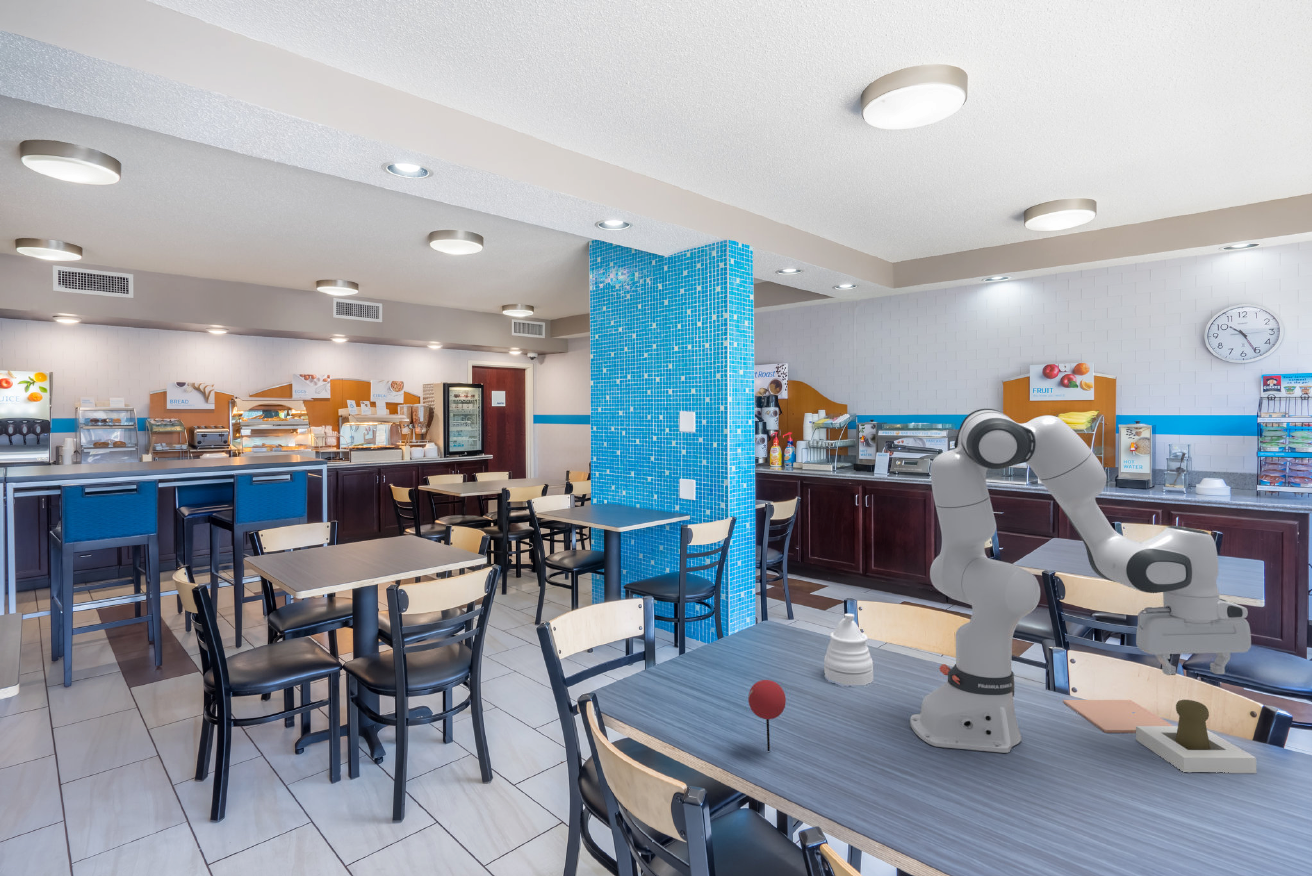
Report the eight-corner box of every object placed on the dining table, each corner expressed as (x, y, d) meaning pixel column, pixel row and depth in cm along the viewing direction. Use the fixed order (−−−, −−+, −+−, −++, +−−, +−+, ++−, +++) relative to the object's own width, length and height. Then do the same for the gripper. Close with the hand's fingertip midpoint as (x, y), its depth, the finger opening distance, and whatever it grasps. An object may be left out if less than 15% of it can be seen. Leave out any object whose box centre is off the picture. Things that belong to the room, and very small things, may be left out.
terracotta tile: (1105, 732, 141) (1105, 730, 141) (1063, 702, 157) (1062, 699, 157) (1180, 732, 140) (1180, 730, 140) (1130, 702, 156) (1130, 699, 156)
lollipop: (763, 739, 141) (762, 671, 141) (793, 751, 136) (792, 680, 136) (742, 752, 136) (741, 681, 136) (772, 764, 130) (770, 691, 130)
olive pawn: (1219, 764, 127) (1218, 709, 127) (1185, 762, 128) (1184, 707, 128) (1200, 749, 133) (1199, 697, 133) (1167, 747, 134) (1166, 695, 134)
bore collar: (1184, 772, 124) (1183, 757, 124) (1136, 740, 137) (1135, 726, 137) (1256, 773, 123) (1256, 757, 123) (1200, 740, 137) (1200, 726, 137)
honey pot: (880, 687, 169) (878, 619, 169) (831, 687, 169) (829, 620, 169) (864, 669, 182) (863, 606, 182) (819, 670, 182) (818, 607, 182)
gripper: (1149, 611, 127) (1151, 680, 128) (1256, 609, 126) (1258, 678, 127) (1127, 603, 134) (1129, 669, 134) (1229, 600, 133) (1231, 666, 133)
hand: (1193, 673), depth 130 cm, fingers open, 8 cm apart
